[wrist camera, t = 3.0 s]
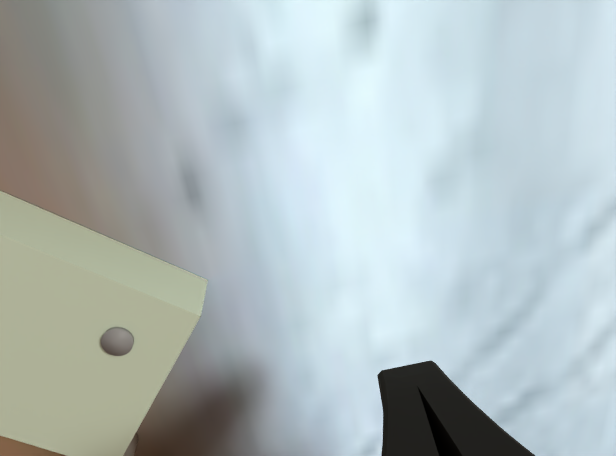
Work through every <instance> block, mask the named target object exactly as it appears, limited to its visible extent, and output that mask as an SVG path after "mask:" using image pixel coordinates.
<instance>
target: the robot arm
mask: <svg viewBox="0 0 616 456" xmlns="http://www.w3.org/2000/svg"><path fill="white" fill-rule="evenodd" d="M378 381H379V388H380V394H381V400H382V406H383V446H382V456H535V455H534V454H532V453H531V452H530V451H529V450H527V449H526V448H525V447H524V446H522V445H521V444H520V443H519V442H517V441H516V440H515V439H514V438H512V437H511V436H510V435H509V434H508V433H506V432H505V431H504V430H503V429H502V428H501V427H499V426H498V425H497V424H496V423H495V422H494V421H493V420H492V419H490V418H489V417H488V416H487V415H486V414H485V413H484V412H483V411H482V410H481V409H479V408H478V407H477V406H476V405H475V404H474V403H473V402H472V401H471V400H470V399H469V398H468V397H467V396H466V395H465V394H464V393H463V392H462V391H461V390H460V389H459V388H458V387H457V386H456V385H455V384H454V383H453V382H452V381H451V380H450V379H449V378H448V377H447V376H446V375H445V373H444V372H443V371H442V370H441V369H440V368H439V367H438V366H437V364H436V363H434V362H433V361H426V362H421V363H417V364H412V365H407V366H402V367H397V368H392V369H387V370H382V371H381V372H380V373H379V374H378Z"/></svg>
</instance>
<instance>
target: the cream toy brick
mask: <svg viewBox="0 0 616 456" xmlns="http://www.w3.org/2000/svg"><path fill="white" fill-rule="evenodd" d="M207 282H208V280H206V279H204V278H201V277H199V276H197V275H194V274H192V273H190V272H188V271H185V270H183V269H181V268H178V267H176V266H174V265H171V264H169V263H167V262H164V261H162V260H160V259H157V258H155V257H153V256H150V255H148V254H146V253H143V252H141V251H139V250H136V249H134V248H132V247H129V246H127V245H125V244H122V243H120V242H118V241H115V240H113V239H111V238H108V237H106V236H104V235H102V234H99V233H97V232H95V231H92V230H90V229H88V228H85V227H83V226H81V225H78V224H76V223H74V222H71V221H69V220H67V219H64V218H62V217H60V216H57V215H55V214H53V213H50V212H48V211H46V210H43V209H41V208H39V207H36V206H34V205H32V204H29V203H27V202H25V201H22V200H20V199H18V198H16V197H13V196H11V195H9V194H6V193H4V192H2V191H0V435H1V436H4V437H8V438H11V439H14V440H17V441H21V442H24V443H27V444H30V445H34V446H37V447H40V448H43V449H47V450H50V451H53V452H57V453H60V454H63V455H66V456H123V455H124V453H125V451H126V449H127V448H128V446H129V444H130V442H131V440H132V439H133V437H134V435H135V433H136V431H137V430H138V428H139V426H140V424H141V422H142V421H143V419H144V417H145V415H146V414H147V412H148V410H149V408H150V406H151V405H152V403H153V401H154V399H155V397H156V396H157V394H158V392H159V390H160V388H161V387H162V385H163V383H164V381H165V379H166V378H167V376H168V374H169V372H170V370H171V369H172V367H173V365H174V363H175V361H176V360H177V358H178V356H179V354H180V352H181V351H182V349H183V347H184V345H185V343H186V342H187V340H188V338H189V336H190V335H191V333H192V331H193V329H194V327H195V326H196V324H197V322H198V320H199V318H200V317H201V312H202V307H203V302H204V297H205V292H206V287H207Z"/></svg>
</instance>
